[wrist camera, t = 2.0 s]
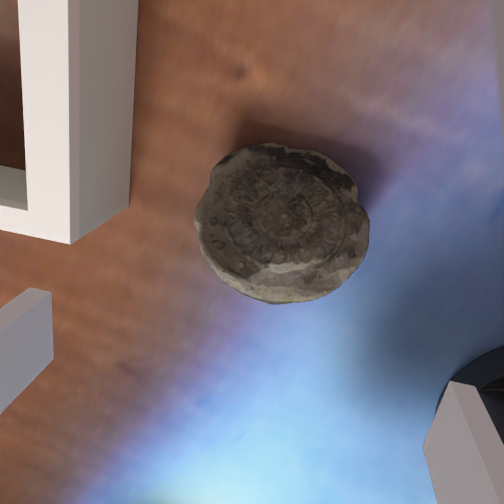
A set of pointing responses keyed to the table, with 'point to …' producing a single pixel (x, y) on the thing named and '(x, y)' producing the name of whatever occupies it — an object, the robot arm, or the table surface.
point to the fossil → (281, 223)
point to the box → (73, 118)
